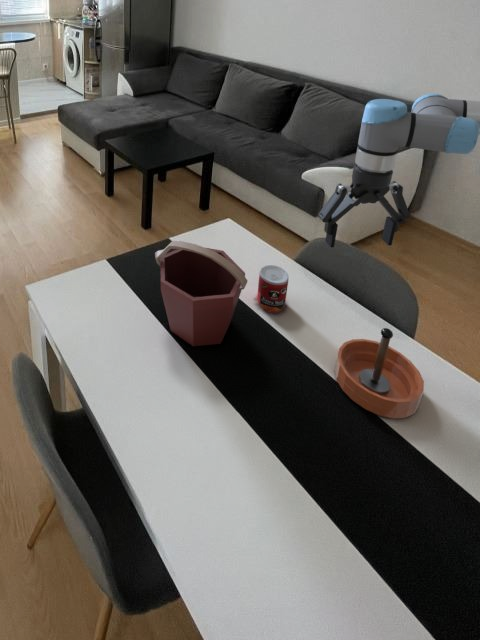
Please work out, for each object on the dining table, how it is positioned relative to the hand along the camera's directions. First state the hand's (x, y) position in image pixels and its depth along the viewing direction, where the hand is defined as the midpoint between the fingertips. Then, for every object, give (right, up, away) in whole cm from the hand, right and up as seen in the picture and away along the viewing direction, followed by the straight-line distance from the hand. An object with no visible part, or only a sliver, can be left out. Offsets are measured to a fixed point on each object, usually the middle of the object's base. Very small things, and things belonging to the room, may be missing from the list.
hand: (357, 243), depth 106 cm
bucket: (-35, -27, +17) cm, 47 cm away
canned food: (-12, -24, +21) cm, 34 cm away
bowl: (+1, -33, -5) cm, 33 cm away
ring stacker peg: (+1, -32, -5) cm, 32 cm away
